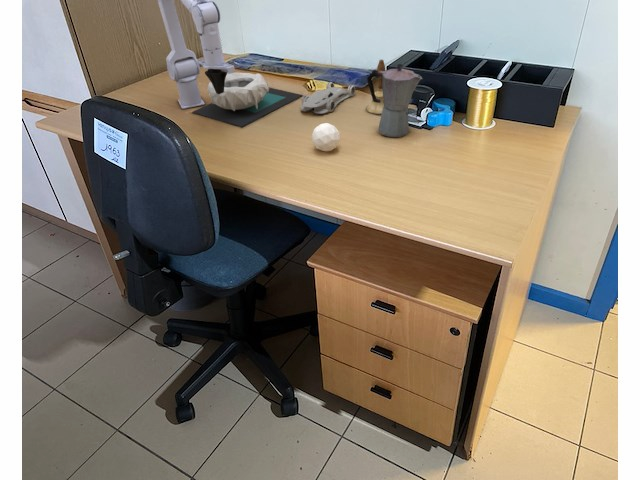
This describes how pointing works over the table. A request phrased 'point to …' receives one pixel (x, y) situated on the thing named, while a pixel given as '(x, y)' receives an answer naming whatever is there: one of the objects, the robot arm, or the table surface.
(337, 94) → the car model
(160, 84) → the table surface
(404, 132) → the moka pot
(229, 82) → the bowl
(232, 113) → the mat
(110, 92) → the table surface
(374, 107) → the hand bell
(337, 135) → the ball
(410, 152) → the table surface
